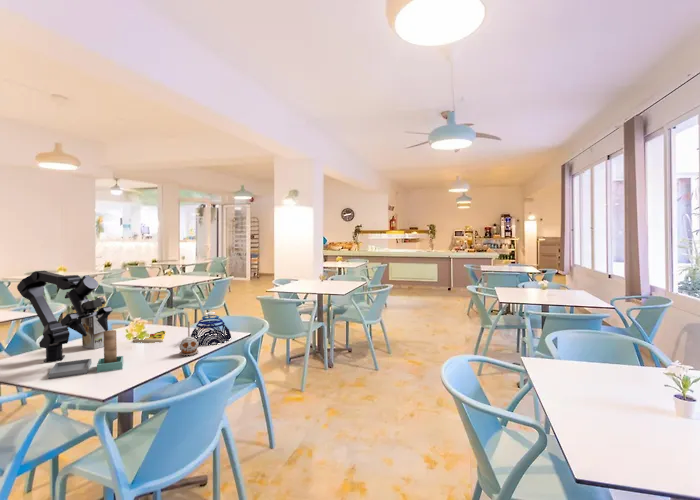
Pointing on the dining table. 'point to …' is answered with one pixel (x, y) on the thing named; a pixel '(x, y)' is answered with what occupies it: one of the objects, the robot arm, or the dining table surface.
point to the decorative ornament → (188, 345)
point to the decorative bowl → (211, 330)
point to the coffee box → (93, 333)
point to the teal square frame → (110, 365)
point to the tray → (70, 368)
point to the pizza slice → (153, 338)
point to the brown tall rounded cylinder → (110, 346)
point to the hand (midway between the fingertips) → (96, 333)
